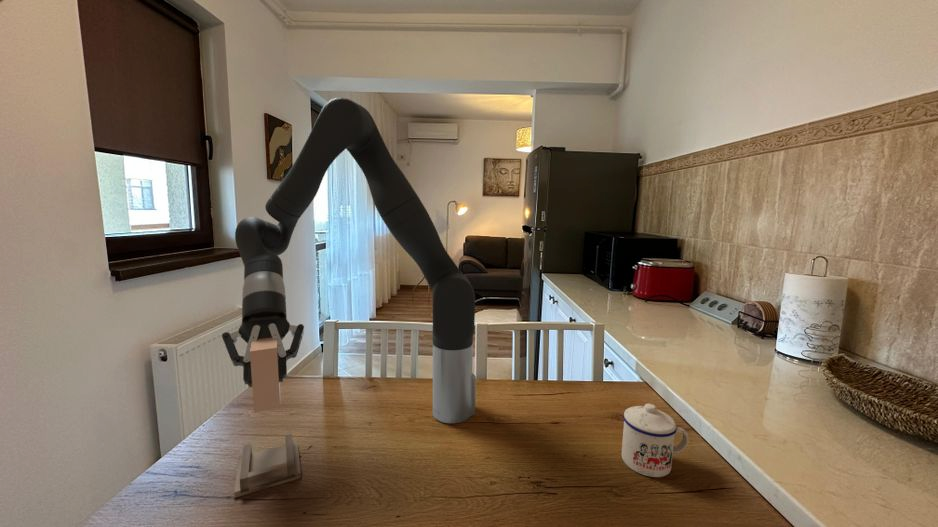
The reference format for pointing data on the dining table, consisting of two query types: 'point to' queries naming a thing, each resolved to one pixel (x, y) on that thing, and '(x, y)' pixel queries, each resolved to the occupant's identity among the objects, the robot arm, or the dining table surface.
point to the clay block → (265, 374)
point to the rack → (267, 467)
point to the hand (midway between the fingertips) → (266, 382)
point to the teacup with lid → (650, 440)
